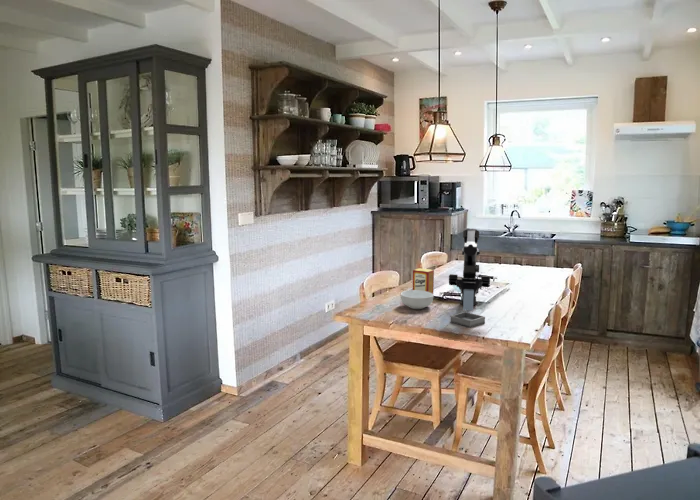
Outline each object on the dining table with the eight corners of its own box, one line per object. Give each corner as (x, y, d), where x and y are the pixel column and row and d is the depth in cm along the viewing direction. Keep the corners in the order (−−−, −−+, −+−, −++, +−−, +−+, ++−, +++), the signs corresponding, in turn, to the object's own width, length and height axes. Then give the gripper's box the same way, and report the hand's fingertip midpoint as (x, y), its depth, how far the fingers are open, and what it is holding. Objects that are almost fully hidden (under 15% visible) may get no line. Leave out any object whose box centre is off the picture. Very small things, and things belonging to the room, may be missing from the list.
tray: (450, 322, 247) (450, 315, 246) (465, 317, 254) (465, 311, 254) (470, 327, 238) (470, 321, 238) (484, 322, 246) (485, 316, 245)
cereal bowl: (405, 312, 264) (406, 298, 262) (396, 303, 280) (396, 290, 279) (438, 310, 267) (438, 296, 266) (426, 302, 283) (427, 289, 282)
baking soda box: (412, 297, 293) (412, 269, 290) (418, 295, 298) (418, 267, 295) (427, 300, 287) (428, 271, 285) (433, 297, 292) (433, 269, 290)
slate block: (463, 307, 248) (463, 289, 246) (473, 308, 247) (473, 289, 245) (463, 310, 244) (463, 291, 242) (473, 310, 243) (473, 291, 241)
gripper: (449, 257, 247) (447, 285, 239) (490, 259, 243) (490, 287, 234) (449, 270, 256) (448, 298, 247) (489, 272, 252) (489, 300, 243)
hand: (468, 296), depth 243 cm, fingers closed on slate block, 4 cm apart
